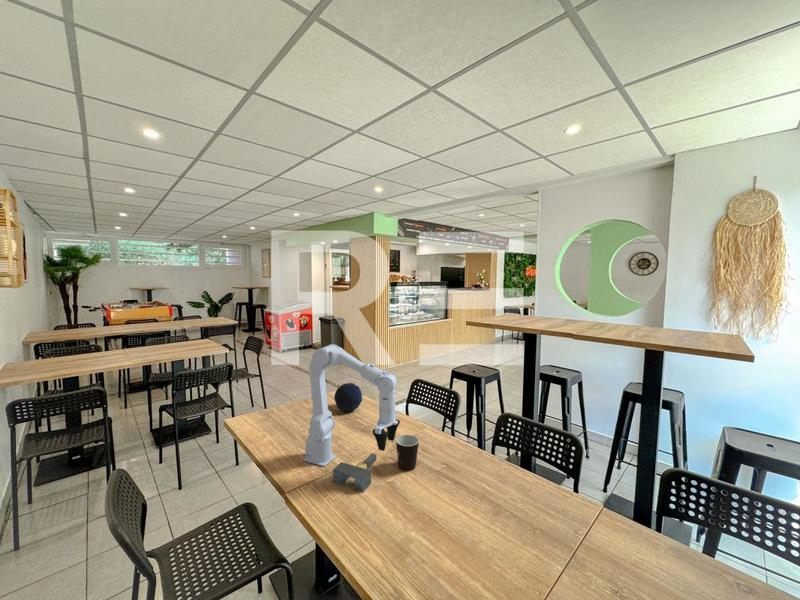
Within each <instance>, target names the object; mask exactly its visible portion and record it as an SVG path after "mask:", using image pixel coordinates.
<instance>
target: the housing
mask: <svg viewBox="0 0 800 600" xmlns="http://www.w3.org/2000/svg"><path fill="white" fill-rule="evenodd" d="M349 478H352V479H354V483H353V485H354V486H353V487H354V488H353V489H354V490H357V491H359V492H362V493H364V492H366V490H367V489H368V488H369V486H370V485H372V470H371V469H364V468H361V467H357V466H356V465H353V464H350V463H346V462H342V461H341V462H339V463H338V464H337V465H336V466H335V467H334V468H333V469H332V483H334V484H338V485H340V486H342V485H343V484H344V483H346V482H347V481H348V480H349Z"/></svg>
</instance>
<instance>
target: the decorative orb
mask: <svg viewBox="0 0 800 600" xmlns="http://www.w3.org/2000/svg"><path fill="white" fill-rule="evenodd" d="M362 402H363V394H362V390H361V388H360V387H359V386H358V385H356V384H355V383H353V382H348V383H342V385H340V386H339V387H338V388H337V389H336V391H335V392H334V403H335V405H336V407H337V409H339V410H341V411H342V412H344V411H347V412H348V413H349V412H353V411H354V410H356V409H358V408H359V406H360V405H361V403H362Z"/></svg>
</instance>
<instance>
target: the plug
mask: <svg viewBox="0 0 800 600" xmlns="http://www.w3.org/2000/svg"><path fill="white" fill-rule="evenodd" d="M377 457H378V456H377V453H372V452H371V453H370V454H369V455H368V456H367V457H366V458H364V460H363V461H362V462H360V461H359V462H357V464H355V466H357V467H361V468H364V469H368V470H370V468H371V467H372V466H373V465H374V463H375V462H377Z"/></svg>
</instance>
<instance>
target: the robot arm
mask: <svg viewBox="0 0 800 600" xmlns="http://www.w3.org/2000/svg"><path fill="white" fill-rule="evenodd" d="M334 364H342V365H344V366H346V367H348V368H350V369H352V370H355V371H356V372H358V373H359V374H360V377H361V378H362V379H364V380H365V381H367V382H369V383H371V385H374V386H375V387H377V391H378V392H379V394H378V395H379V397H378V399H379V401H378V405H379V406H378V407H379V408H378V419H377V420H378V421H377V422H376V426H375V427H374V428H373V430H372V434H373V436H374V438H375V441H376V444H377V448H378V450H379V451H383V452H384V451H385V449H386V447H387V445H386V444H387V440H388V441H392V442H394V440H395V439H396V434H397V429H398V427H399V425H400V423H401V421H400V419H398V416H399V415H398V412H396V387H397V384H398V378H397V376H396V375H395V374H394V373H393V372H389V371H388V372H387V371H386V370H383V369H380V368H379V367H377V366H376V364H375V363H373V362H372V363H369V362H368V363H364V362H362V360H359V359H358V358H356V357H355V356H353V355H351V354H350V353H348V352H347V351H345V350H344V349H343V348H342V347H341V346H338V345H337V344H334V343H331V344H328V345H326V346H324V347H320V348H318V349H316V350H315V351H314V352H313V353H312V354H311V361H310V363H309V366H308V371H309V379H310V392H311V402H312V411H313V412H312V413H313V414H312V416H311V418H310V420H309V429H308V436H307V438H306V439H305V458H304V459H303V461H304V462H307V463H310V464H314V465H318V466H321V467H326V466H327V465H328V464H329V463H331V461H333V460H334V459H335V458H336V457H337V454H334V453H333V451H332V450H333V449H332V447H333V446H332V442H333V441H332V439H333V437H332V436H333V432H332V431H333V430H334V428H335V426H336V421H335V419H334V417H333V414H332V411H330V410H329V408H328V407H329V406H328V398H327V397H328V396H327V386H326V385H327V384H326V375H325V374H326V373H325V369H327V367H328V366H330V365H334ZM385 429H386V431H385Z"/></svg>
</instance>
